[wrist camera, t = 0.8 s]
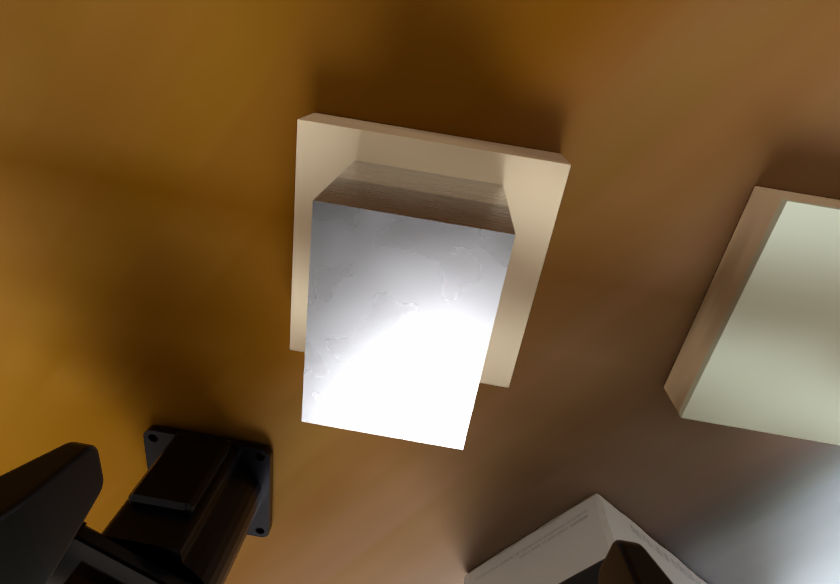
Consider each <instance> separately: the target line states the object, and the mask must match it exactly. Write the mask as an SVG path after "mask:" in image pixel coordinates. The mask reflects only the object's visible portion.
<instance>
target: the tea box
mask: <svg viewBox="0 0 840 584" xmlns="http://www.w3.org/2000/svg"><path fill="white" fill-rule="evenodd" d="M616 540H625V541H630V542H636V543H639V544H640V545H642V546H643V547H644V548H645V549H646V550H647V552H648V553H649V554H650V555H651V557H652V558H653V559H654V560H655V561H656V563H657V564H658V565H659V566H660V568H661V569H662V570H663V571H664V573H665V574H666V575H667V576H668V577H669V579H670V580H671V581H672V582H673V584H707V583H706V582H705V581H703V580H702V579H700V578H699V577H698V576H697V575H695V574H694V573H693V572H692V571H691V570H690V569H688V568H687V567H686V566H685V565H684V564H683V563H682V562H681V561H680V560H679V559H677V558H676V557H675V556H674V555H673V554H671V553H670V552H669V551H668V550H666V549H665V548H663V547H662V546H660V545H659V544H658V543H657V542H656V541H654V540H653V539H652V538H651V537H649V536H648V535H647V534H646V533H645V532H644V531H643V530H642V529H641V528H640V527H639V526H637V525H636V524H635V523H634V522H633V521H631V520H630V519H629V518H628V517H627V516H625V515H624V514H623V513H621V512H619V511H618V510H617V509H616V508H615V507H613V506H612V505H611V504H610V503H609V502H607V501H606V500H605V499H604V498H602V497H601V496H600V495H599V494H594V495H593V496H591V497H589V498H588V499H586V500H584V501H583V502H581V503H579V504H578V505H576V506H574V507H573V508H571V509H569V510H568V511H566V512H564V513H563V514H561V515H560V516H558V517H556V518H555V519H553V520H551V521H550V522H548V523H547V524H545V525H543V526H542V527H540V528H539V529H537V530H536V531H534V532H532V533H531V534H529V535H527V536H526V537H524V538H523V539H521V540H519V541H518V542H516V543H515V544H513V545H512V546H510V547H508V548H507V549H505V550H503V551H502V552H500V553H499V554H497V555H495V556H494V557H492V558H491V559H489V560H488V561H486V562H485V563H483V564H482V565H480V566H479V567H477V568H475V569H474V570H473V571H471V572H470V573H469V574H467V575H466V576H465V578H464V584H599V571H600V568H601V566H602V564H603V562H604V560H605V558H606V555H607V553H608V551H609V549H610V547H611V545H612V543H613V542H614V541H616Z"/></svg>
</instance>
